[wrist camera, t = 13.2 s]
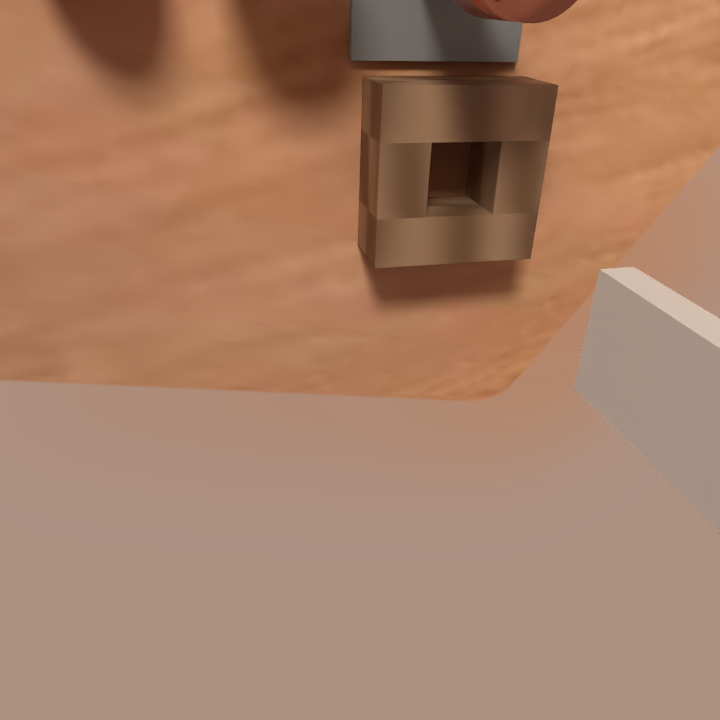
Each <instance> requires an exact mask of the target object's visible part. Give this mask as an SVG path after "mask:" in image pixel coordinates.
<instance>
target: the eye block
mask: <svg viewBox="0 0 720 720" xmlns="http://www.w3.org/2000/svg"><path fill="white" fill-rule="evenodd" d="M557 91H558V85H556V84H552V83H548V82H544V81H540V80H536V79H532V78H528V77H507V76H363V86H362V121H361V156H360V190H359V225H358V246H359V247H360V249H361V250H362V251H363V253H364V254H365V255H366V257H367V258H368V260H369V261H370V262H371V264H372V265H373V266H374V268H389V267H404V266H420V265H436V264H452V263H468V262H484V261H500V260H516V259H530V258H531V252H532V246H533V240H534V233H535V227H536V221H537V215H538V209H539V203H540V196H541V190H542V184H543V178H544V172H545V165H546V159H547V153H548V147H549V141H550V134H551V128H552V122H553V116H554V110H555V103H556V97H557ZM439 142H472V146H471V156H470V165H469V174H468V184H467V193H466V196H444V197H428V184H429V171H430V159H431V146H432V143H439Z"/></svg>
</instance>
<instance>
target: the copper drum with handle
mask: <svg viewBox="0 0 720 720" xmlns="http://www.w3.org/2000/svg"><path fill="white" fill-rule="evenodd" d="M576 1H577V0H454V2H455V3H456V4H457V5H458V6H459V7H460V8H461V9H463V10H464V11H465V12H467V13H469V14H470V15H473V16H475V17H478V18H483V19H491V20H501V21H511V22H521V23H540V22H544V21H548V20H550V19H553V18H555V17H557V16H558V15H560V14H562V13H563V12H565V11H566V10H567V9H568V8H570V7H571V6H572V5H573V4H574V3H575V2H576Z"/></svg>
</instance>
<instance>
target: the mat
mask: <svg viewBox="0 0 720 720" xmlns="http://www.w3.org/2000/svg"><path fill="white" fill-rule="evenodd" d="M521 29H522V23H521V22H511V21H501V20H491V19H483V18H478V17H475V16H473V15H470V14H469V13H467V12H465V11H464V10H463V9H461V8H460V7H459V6H458V5H457V4H456V3H455V2H454V0H350V23H349V60H359V61H458V62H517V59H518V51H519V44H520V36H521Z"/></svg>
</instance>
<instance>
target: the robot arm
mask: <svg viewBox="0 0 720 720" xmlns="http://www.w3.org/2000/svg"><path fill="white" fill-rule="evenodd" d="M574 389H575V390H576V391H577V392H578V393H579V394H580V395H581V396H582V397H583V398H584V399H585V400H586V401H587V402H588V403H589V404H590V405H591V406H592V407H593V408H594V409H595V410H596V411H597V412H598V413H599V414H600V415H601V416H602V417H603V418H604V419H605V420H606V421H607V422H608V423H609V424H610V425H611V426H612V427H613V428H614V429H615V430H616V431H617V432H618V433H619V434H620V435H621V436H622V437H623V438H624V439H625V440H626V441H627V442H628V443H629V444H630V445H631V446H632V447H633V448H634V449H635V450H636V451H637V452H638V453H639V454H640V455H641V456H642V457H643V458H644V459H645V460H646V461H647V462H648V463H649V464H650V465H651V466H652V467H653V468H654V469H655V470H656V471H657V472H658V473H659V474H660V475H662V477H663V478H664V479H665V480H666V481H667V482H668V483H669V484H670V485H671V486H672V487H673V488H674V489H675V490H676V491H677V492H678V493H680V495H681V496H682V497H683V498H684V499H685V500H686V501H687V502H688V503H689V504H691V506H692V507H693V508H694V509H695V510H696V511H697V512H699V513H700V514H701V515H702V517H704V519H705V520H706V521H707V522H708V523H709V524H711V526H713V527H714V528H715V529H716V530H717V531H718V532H719V533H720V319H719V318H717V317H716V316H714V315H712V314H711V313H709V312H707V311H706V310H704V309H703V308H701V307H699V306H698V305H696V304H694V303H693V302H691V301H689V300H688V299H686V298H684V297H682V296H681V295H679V294H678V293H676V292H674V291H673V290H671V289H669V288H668V287H666V286H664V285H663V284H661V283H659V282H658V281H656V280H654V279H653V278H651V277H649V276H648V275H646V274H644V273H643V272H641V271H639V270H638V269H636V268H635V267H627V268H611V269H600V270H599V275H598V279H597V284H596V289H595V293H594V298H593V303H592V307H591V312H590V317H589V321H588V326H587V330H586V335H585V339H584V344H583V349H582V354H581V358H580V363H579V367H578V372H577V376H576V381H575V386H574Z"/></svg>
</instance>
